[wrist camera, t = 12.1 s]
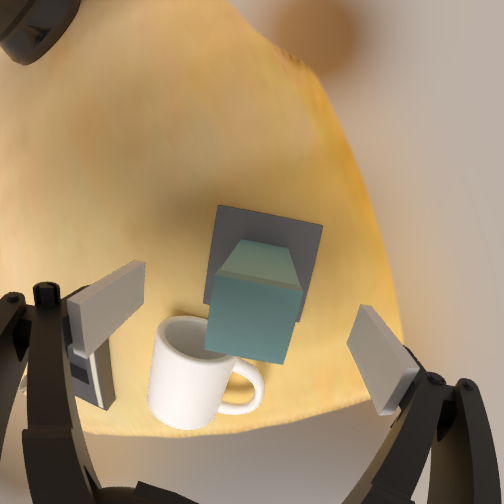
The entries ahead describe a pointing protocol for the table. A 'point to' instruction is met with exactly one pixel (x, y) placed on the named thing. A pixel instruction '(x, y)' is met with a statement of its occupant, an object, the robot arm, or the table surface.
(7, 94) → the table surface
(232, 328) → the plug
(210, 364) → the mug
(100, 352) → the grey socket block
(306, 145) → the table surface
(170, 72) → the table surface
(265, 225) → the mat
